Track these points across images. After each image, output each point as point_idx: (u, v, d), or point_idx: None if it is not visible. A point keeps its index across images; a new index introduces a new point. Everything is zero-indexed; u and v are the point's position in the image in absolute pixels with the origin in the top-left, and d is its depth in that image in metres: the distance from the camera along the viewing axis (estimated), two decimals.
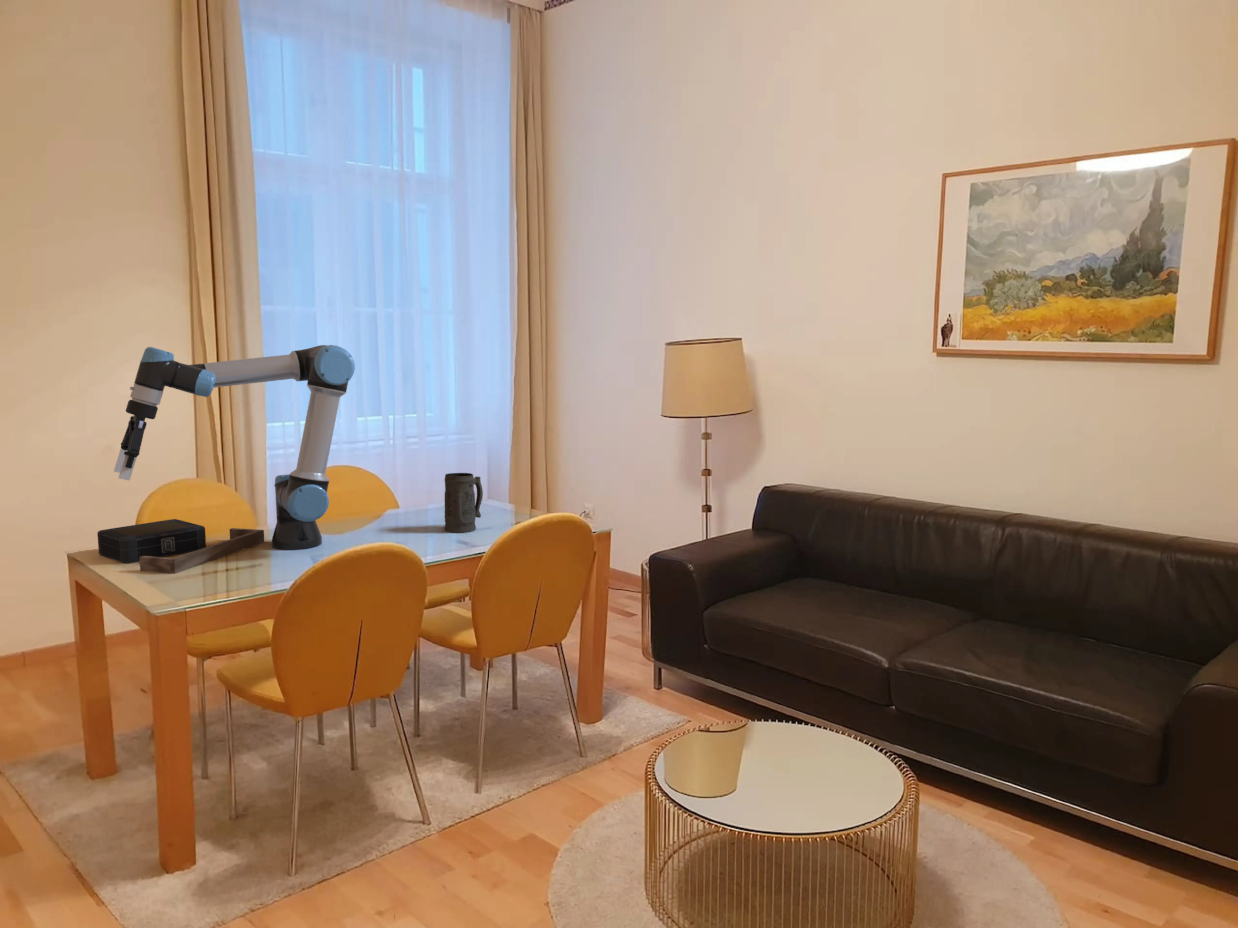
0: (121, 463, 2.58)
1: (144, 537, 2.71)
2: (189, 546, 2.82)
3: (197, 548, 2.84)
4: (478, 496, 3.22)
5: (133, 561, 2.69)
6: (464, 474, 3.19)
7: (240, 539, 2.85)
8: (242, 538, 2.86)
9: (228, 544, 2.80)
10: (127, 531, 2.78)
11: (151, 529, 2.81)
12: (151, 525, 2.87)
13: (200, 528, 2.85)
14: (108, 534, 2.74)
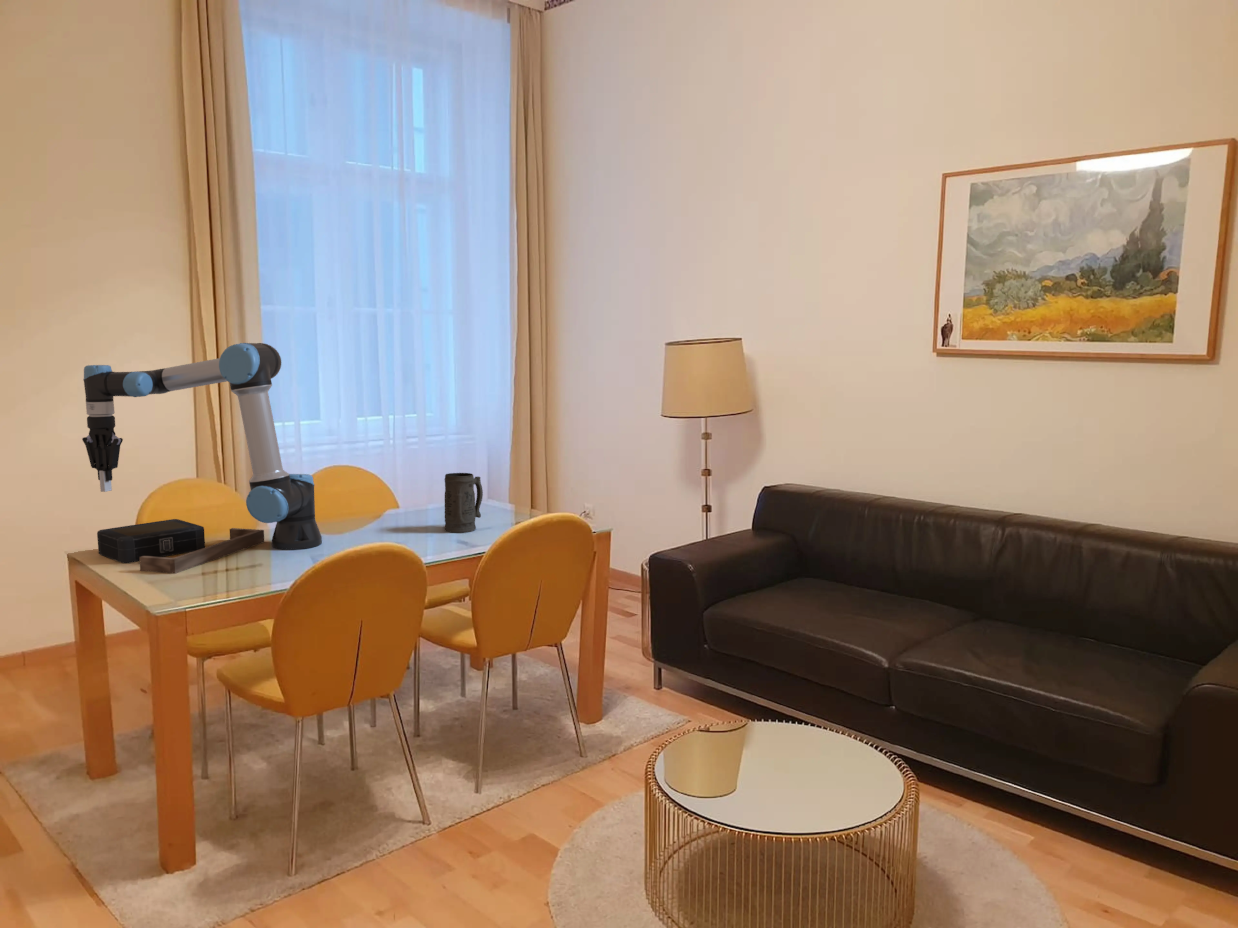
0: None
1: (142, 537, 2.71)
2: (187, 546, 2.82)
3: (196, 548, 2.84)
4: (478, 496, 3.22)
5: (131, 561, 2.69)
6: (464, 474, 3.19)
7: (240, 539, 2.85)
8: (242, 538, 2.86)
9: (228, 544, 2.80)
10: (126, 531, 2.78)
11: (150, 529, 2.81)
12: (151, 525, 2.87)
13: (199, 528, 2.84)
14: (107, 534, 2.74)
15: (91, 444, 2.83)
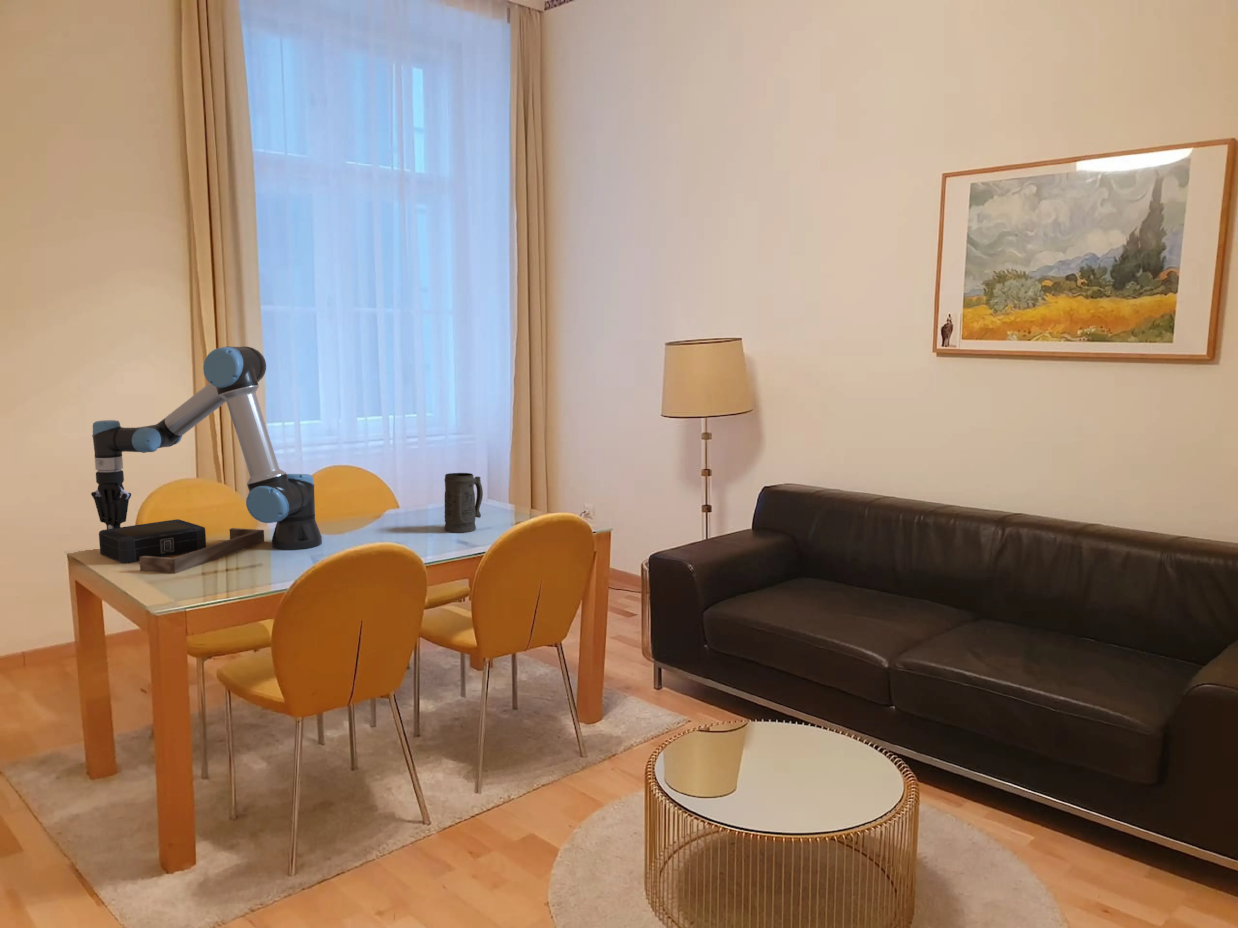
0: None
1: (142, 537, 2.71)
2: (188, 547, 2.81)
3: (197, 549, 2.83)
4: (478, 496, 3.22)
5: (131, 561, 2.69)
6: (464, 474, 3.19)
7: (240, 539, 2.85)
8: (242, 538, 2.86)
9: (228, 544, 2.80)
10: (127, 531, 2.78)
11: (151, 529, 2.81)
12: (153, 525, 2.87)
13: (200, 529, 2.84)
14: (108, 534, 2.74)
15: (100, 498, 2.85)
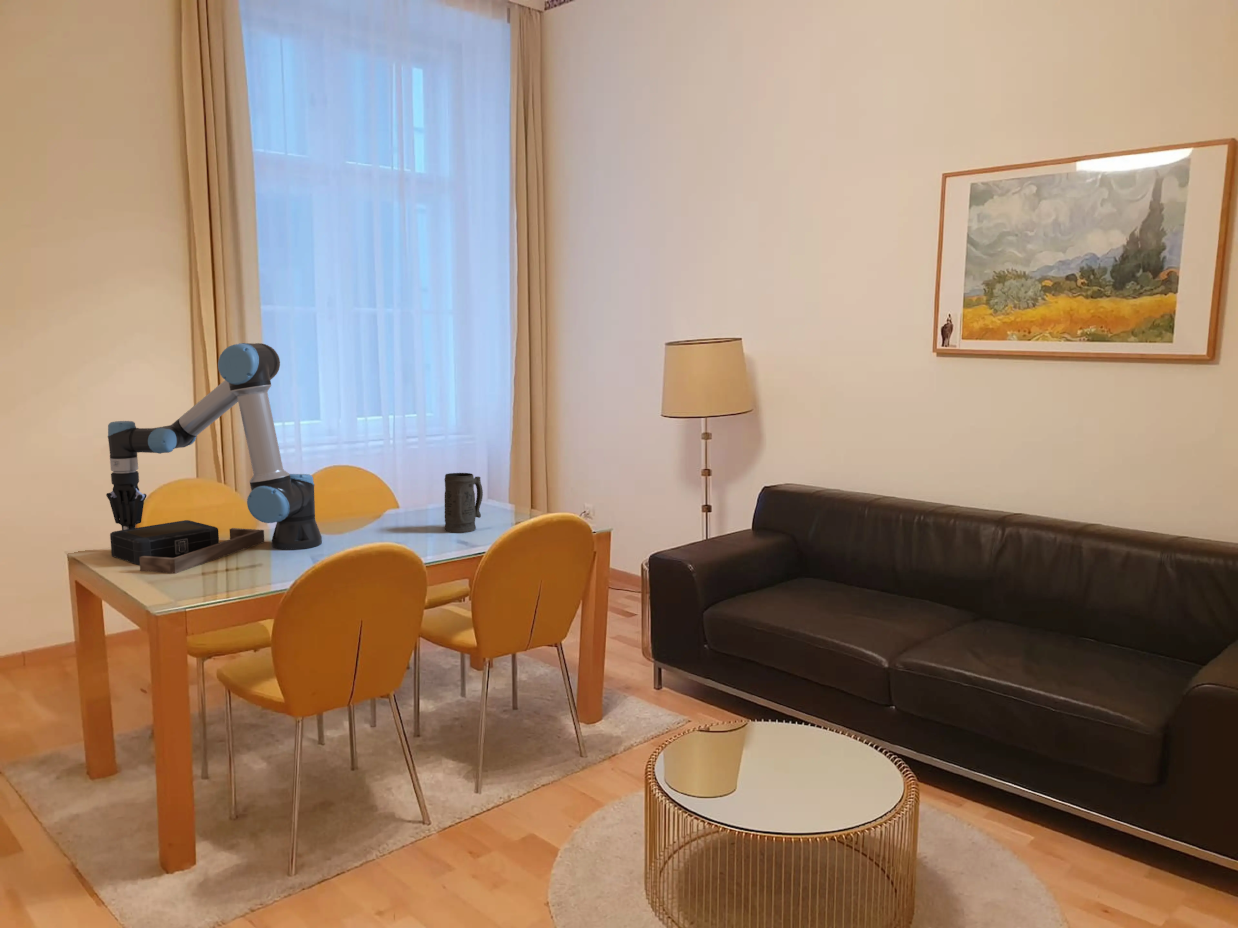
0: None
1: (158, 538, 2.69)
2: (202, 547, 2.80)
3: None
4: (478, 496, 3.22)
5: None
6: (464, 474, 3.19)
7: (240, 539, 2.85)
8: (242, 538, 2.86)
9: (228, 544, 2.80)
10: (140, 532, 2.76)
11: (164, 530, 2.79)
12: (164, 526, 2.85)
13: (213, 529, 2.83)
14: (121, 535, 2.72)
15: (115, 499, 2.84)
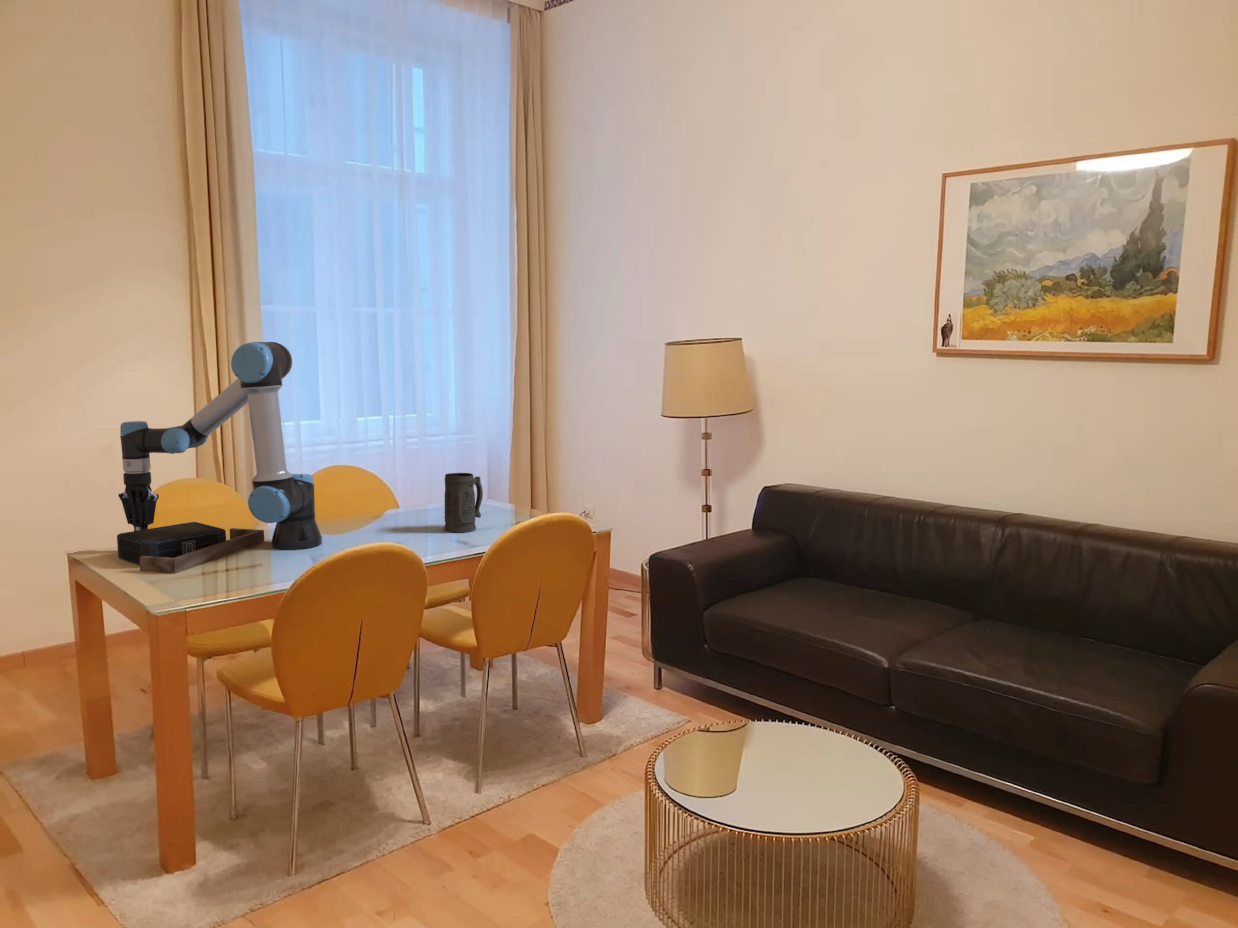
0: None
1: (165, 540, 2.67)
2: None
3: None
4: (478, 496, 3.22)
5: None
6: (464, 474, 3.19)
7: (240, 539, 2.85)
8: (242, 538, 2.86)
9: (228, 544, 2.80)
10: (147, 534, 2.73)
11: (171, 532, 2.76)
12: (171, 528, 2.82)
13: (221, 531, 2.80)
14: (128, 537, 2.70)
15: (127, 500, 2.83)
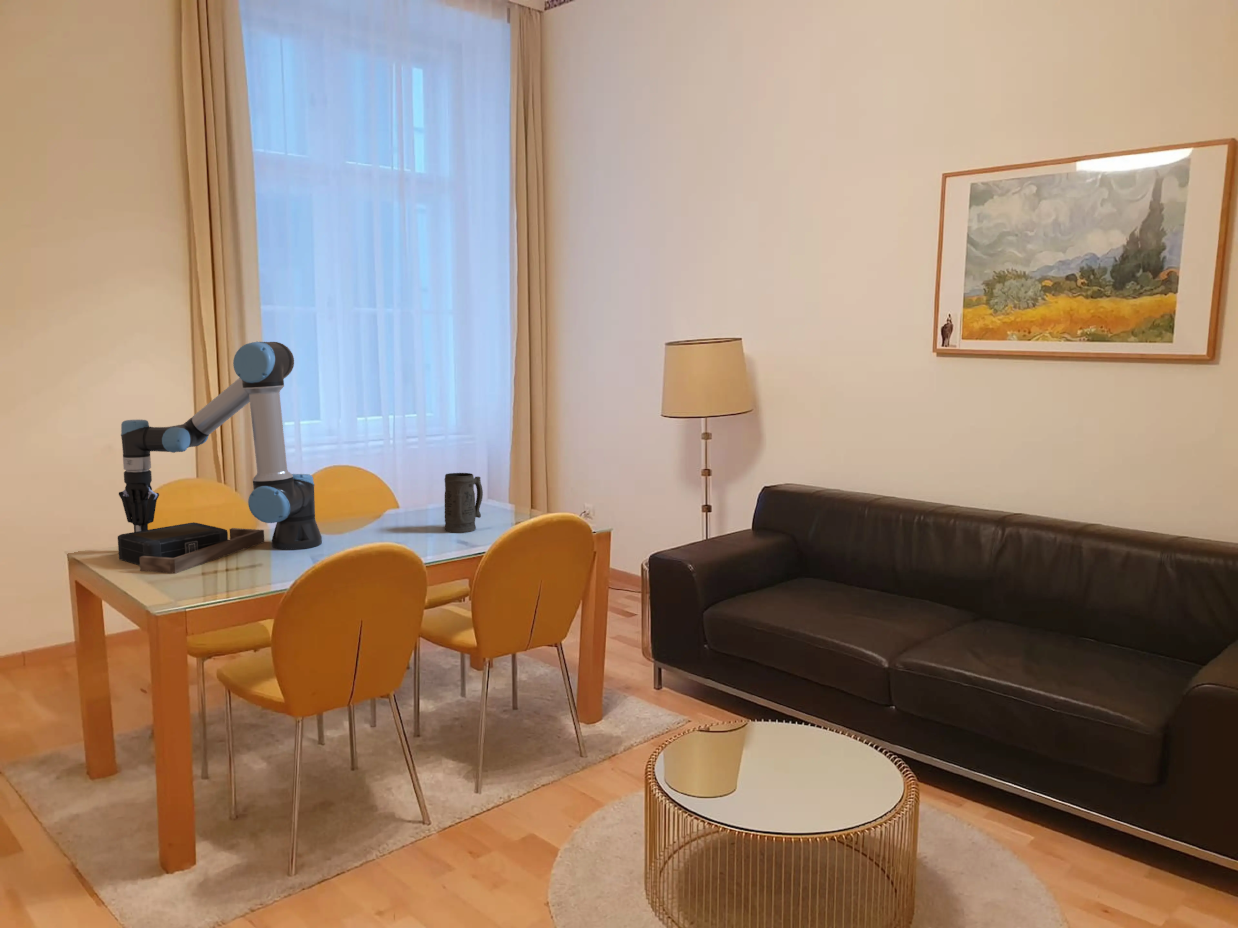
0: None
1: (168, 541, 2.66)
2: None
3: None
4: (478, 496, 3.22)
5: None
6: (464, 474, 3.19)
7: (240, 539, 2.85)
8: (242, 538, 2.86)
9: (228, 544, 2.80)
10: (149, 535, 2.72)
11: (173, 533, 2.75)
12: (171, 529, 2.81)
13: (223, 531, 2.80)
14: (130, 538, 2.69)
15: (127, 498, 2.83)
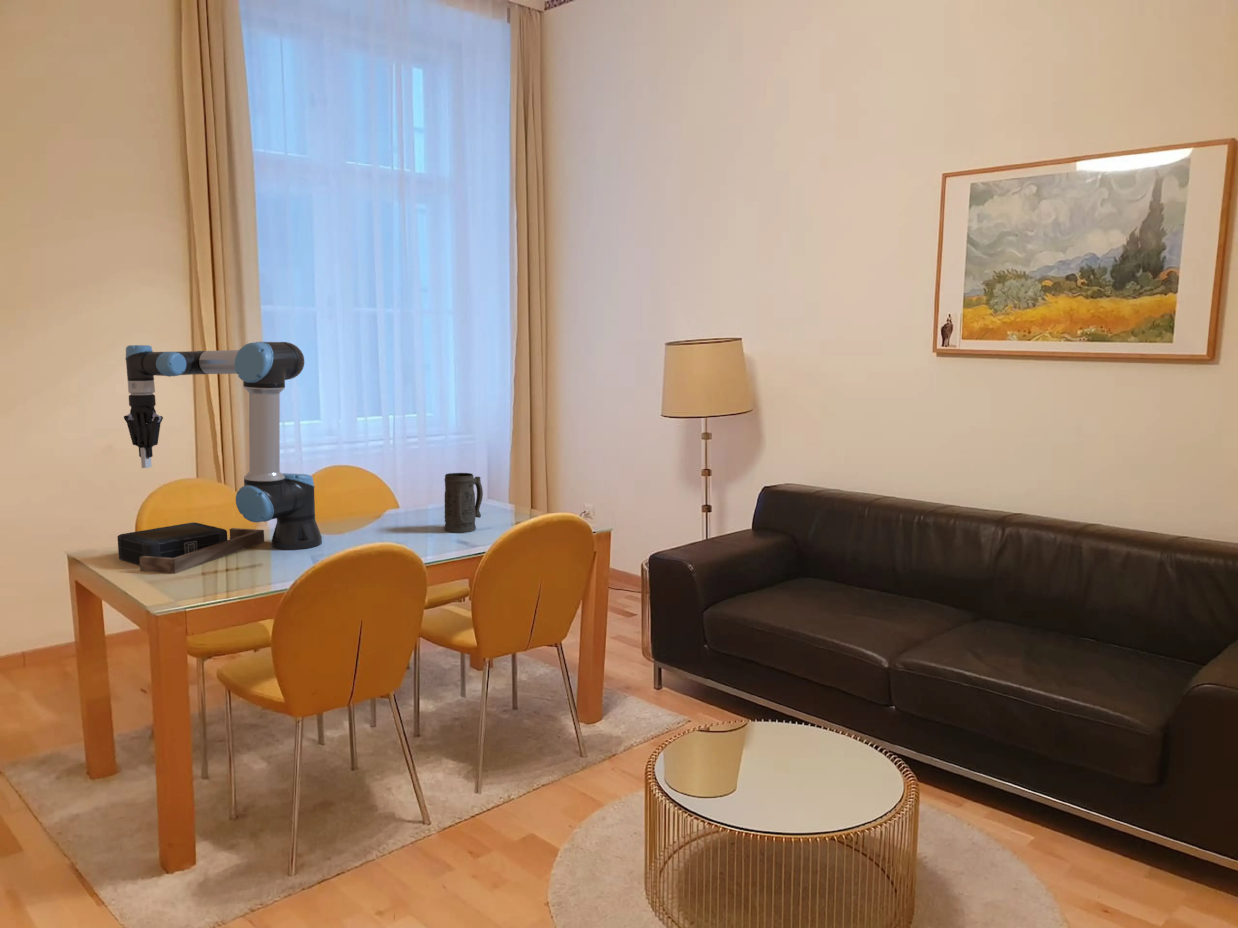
0: None
1: (167, 541, 2.66)
2: None
3: None
4: (478, 496, 3.22)
5: None
6: (464, 474, 3.19)
7: (240, 539, 2.85)
8: (242, 538, 2.86)
9: (228, 544, 2.80)
10: (148, 535, 2.72)
11: (172, 533, 2.76)
12: (171, 529, 2.81)
13: (222, 531, 2.80)
14: (129, 538, 2.69)
15: (132, 422, 2.93)
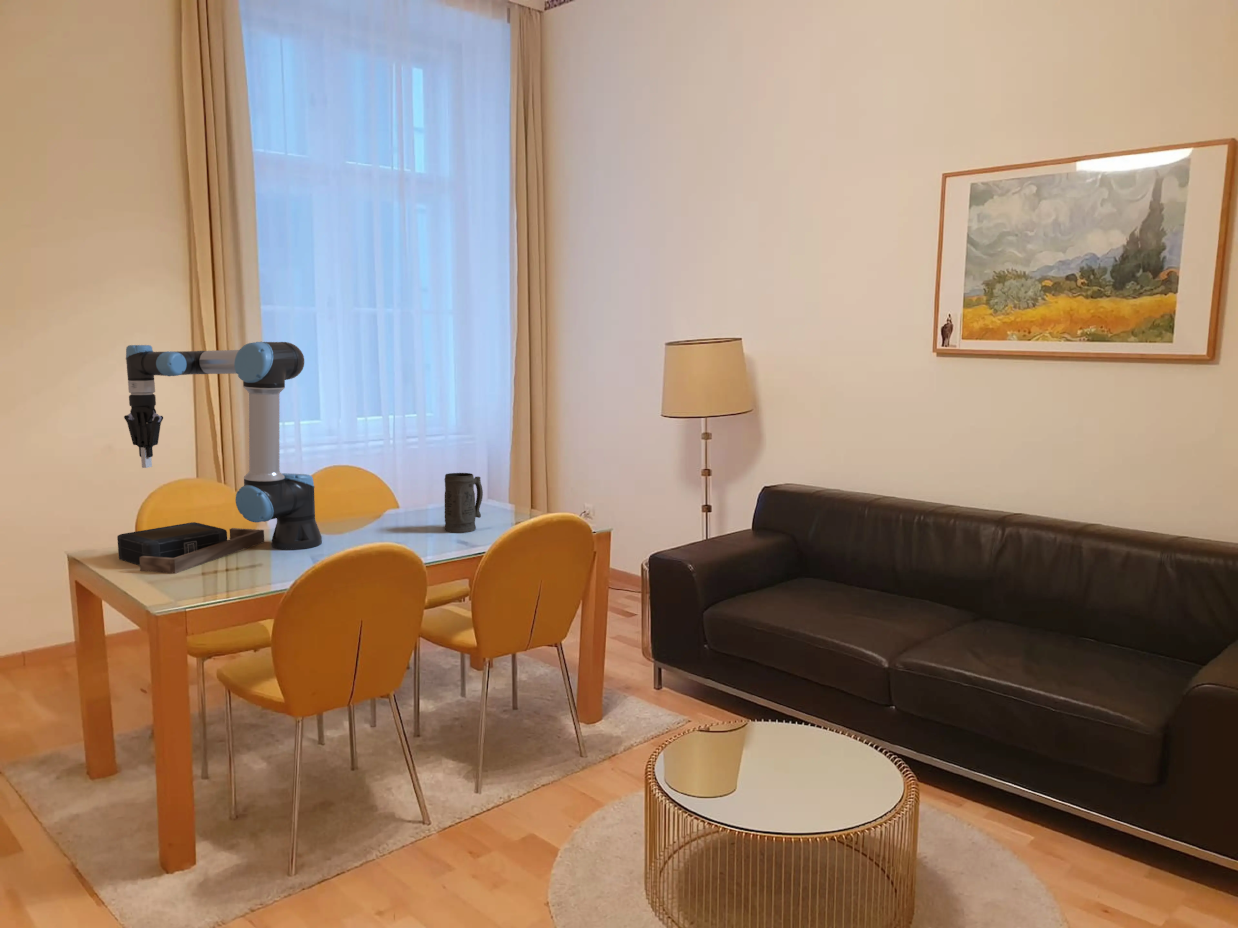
0: None
1: (167, 541, 2.66)
2: None
3: None
4: (478, 496, 3.22)
5: None
6: (464, 474, 3.19)
7: (240, 539, 2.85)
8: (242, 538, 2.86)
9: (228, 544, 2.80)
10: (148, 535, 2.73)
11: (172, 533, 2.76)
12: (171, 529, 2.81)
13: (222, 531, 2.80)
14: (129, 538, 2.69)
15: (132, 422, 2.93)
